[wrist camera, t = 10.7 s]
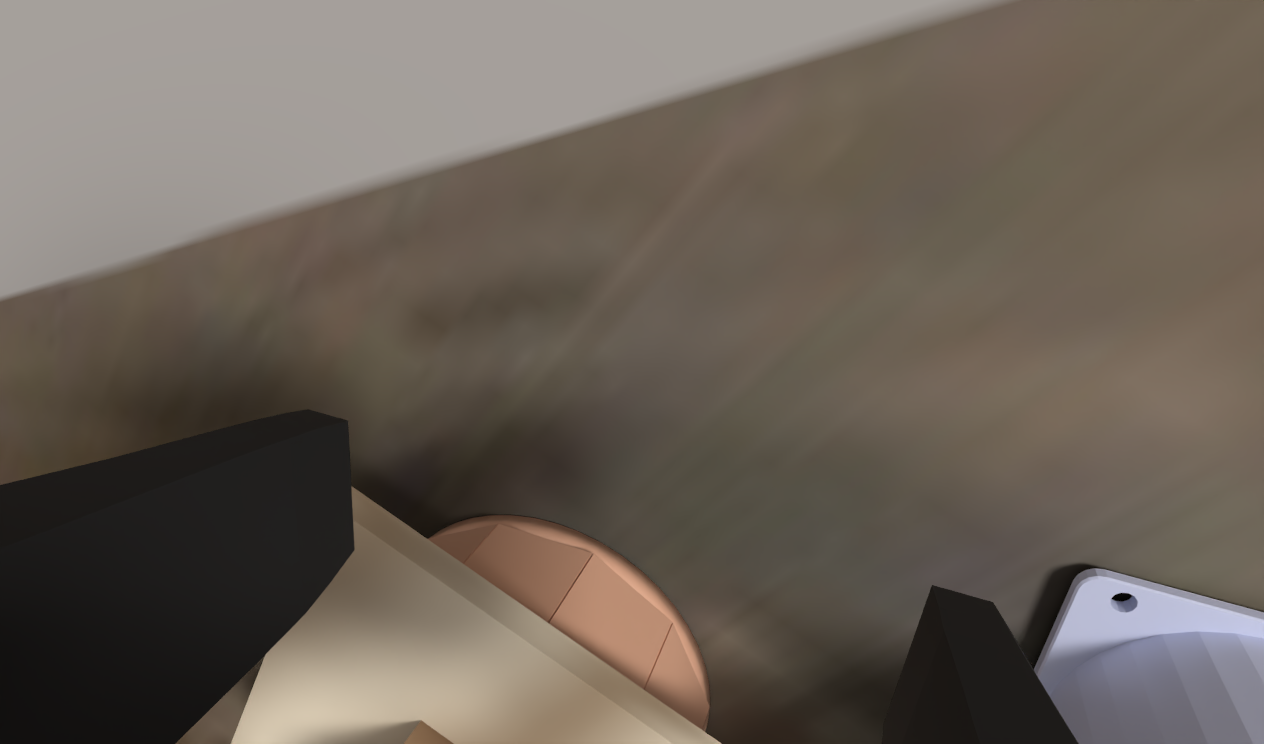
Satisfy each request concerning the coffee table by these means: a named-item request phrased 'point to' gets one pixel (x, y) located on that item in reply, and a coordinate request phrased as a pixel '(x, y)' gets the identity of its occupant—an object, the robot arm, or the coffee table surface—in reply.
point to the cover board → (438, 662)
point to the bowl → (589, 602)
